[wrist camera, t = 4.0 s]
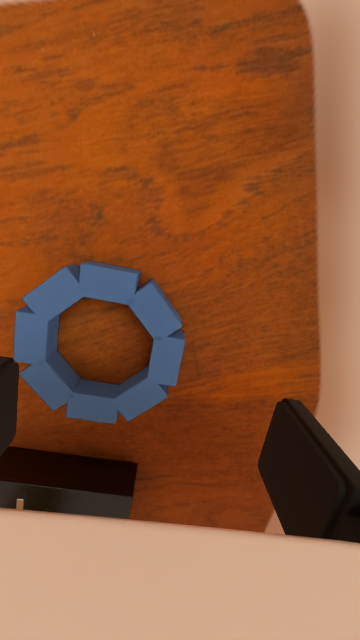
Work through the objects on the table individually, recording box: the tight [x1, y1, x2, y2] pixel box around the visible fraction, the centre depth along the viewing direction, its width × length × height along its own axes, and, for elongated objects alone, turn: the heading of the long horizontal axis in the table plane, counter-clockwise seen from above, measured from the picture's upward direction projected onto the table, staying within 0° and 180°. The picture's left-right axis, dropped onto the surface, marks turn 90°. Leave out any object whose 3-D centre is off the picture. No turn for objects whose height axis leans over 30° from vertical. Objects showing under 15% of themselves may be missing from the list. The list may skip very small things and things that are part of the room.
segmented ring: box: [14, 261, 185, 424], centre depth 15 cm, size 8×8×2 cm
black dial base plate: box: [0, 447, 138, 519], centre depth 18 cm, size 12×10×3 cm
